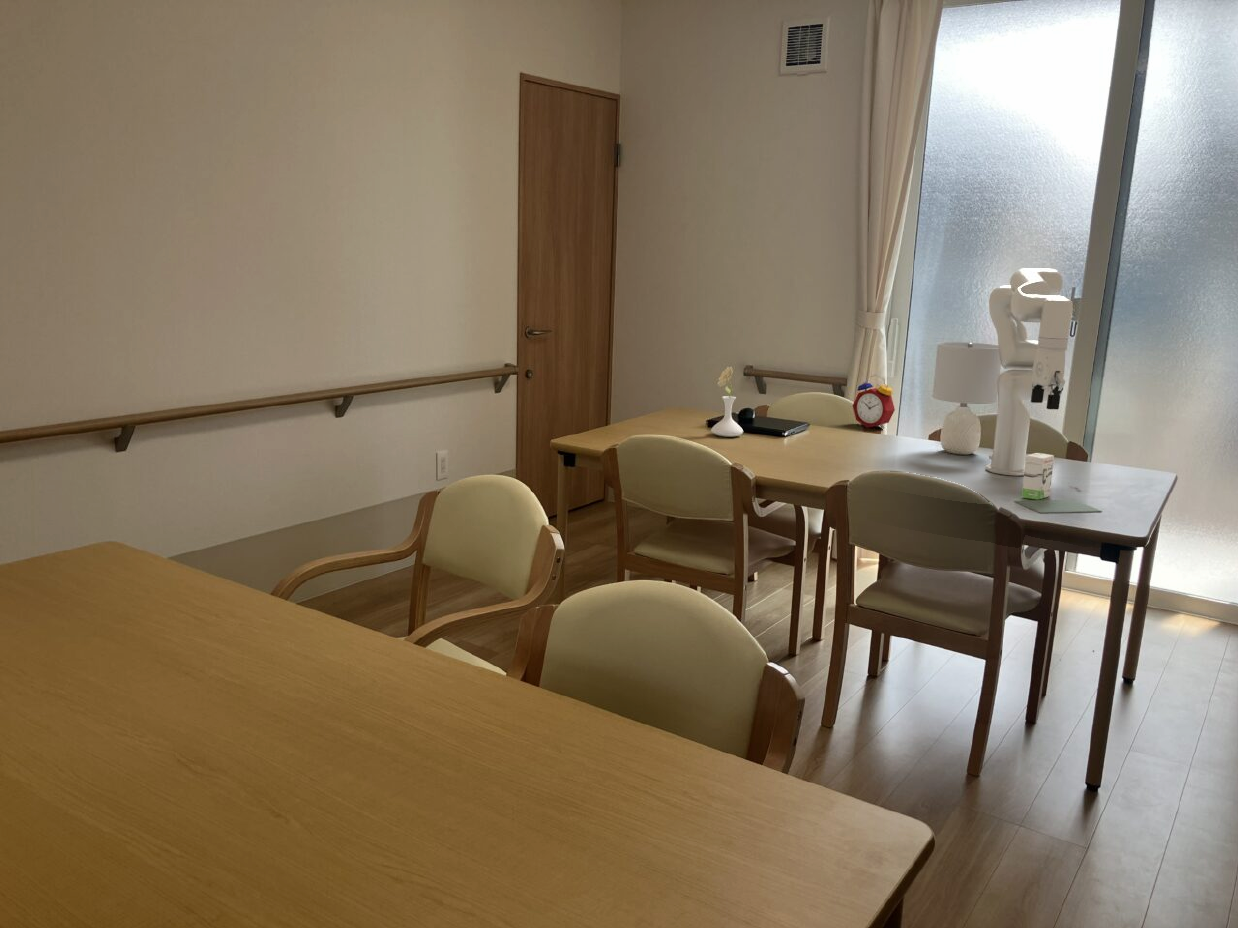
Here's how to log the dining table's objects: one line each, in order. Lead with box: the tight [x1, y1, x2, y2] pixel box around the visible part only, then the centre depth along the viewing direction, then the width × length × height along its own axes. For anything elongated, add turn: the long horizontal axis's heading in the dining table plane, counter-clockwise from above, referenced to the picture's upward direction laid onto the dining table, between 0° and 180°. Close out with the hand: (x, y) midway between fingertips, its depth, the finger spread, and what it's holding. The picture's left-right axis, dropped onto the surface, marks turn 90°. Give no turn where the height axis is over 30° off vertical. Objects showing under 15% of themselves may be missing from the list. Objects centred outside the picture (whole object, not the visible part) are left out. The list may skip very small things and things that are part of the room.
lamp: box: [932, 341, 1002, 456], centre depth 331 cm, size 20×20×37 cm
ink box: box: [1021, 452, 1055, 500], centre depth 275 cm, size 9×5×12 cm, turn 137°
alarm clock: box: [852, 374, 896, 430], centre depth 377 cm, size 15×9×20 cm, turn 43°
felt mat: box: [1013, 498, 1103, 514], centre depth 267 cm, size 12×18×1 cm, turn 100°
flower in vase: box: [710, 366, 744, 437], centre depth 349 cm, size 13×11×25 cm
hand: (1044, 405), depth 275 cm, fingers open, 9 cm apart
